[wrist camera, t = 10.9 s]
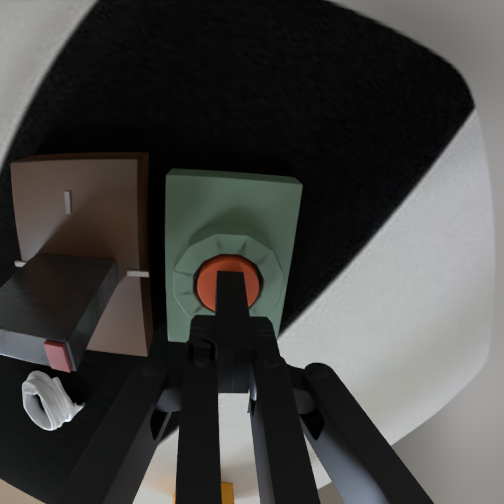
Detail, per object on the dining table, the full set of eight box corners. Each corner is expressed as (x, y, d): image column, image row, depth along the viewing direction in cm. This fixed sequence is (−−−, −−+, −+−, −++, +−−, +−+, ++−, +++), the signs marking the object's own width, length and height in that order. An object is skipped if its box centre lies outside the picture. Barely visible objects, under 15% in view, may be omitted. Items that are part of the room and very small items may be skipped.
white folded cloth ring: (61, 411, 30) (51, 444, 26) (16, 379, 27) (2, 413, 23) (95, 396, 28) (86, 435, 24) (44, 359, 25) (28, 398, 21)
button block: (171, 168, 20) (160, 181, 16) (295, 177, 21) (311, 191, 17) (171, 323, 25) (165, 357, 21) (272, 327, 26) (280, 361, 22)
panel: (26, 155, 18) (2, 163, 15) (158, 152, 19) (147, 159, 16) (50, 320, 24) (36, 342, 21) (160, 332, 25) (155, 359, 22)
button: (199, 246, 19) (198, 258, 18) (259, 249, 20) (262, 262, 18) (198, 297, 21) (196, 312, 19) (253, 299, 21) (255, 314, 20)
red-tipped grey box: (40, 276, 19) (-21, 351, 11) (36, 252, 18) (-32, 323, 10) (117, 284, 19) (75, 375, 12) (116, 259, 19) (65, 345, 11)
